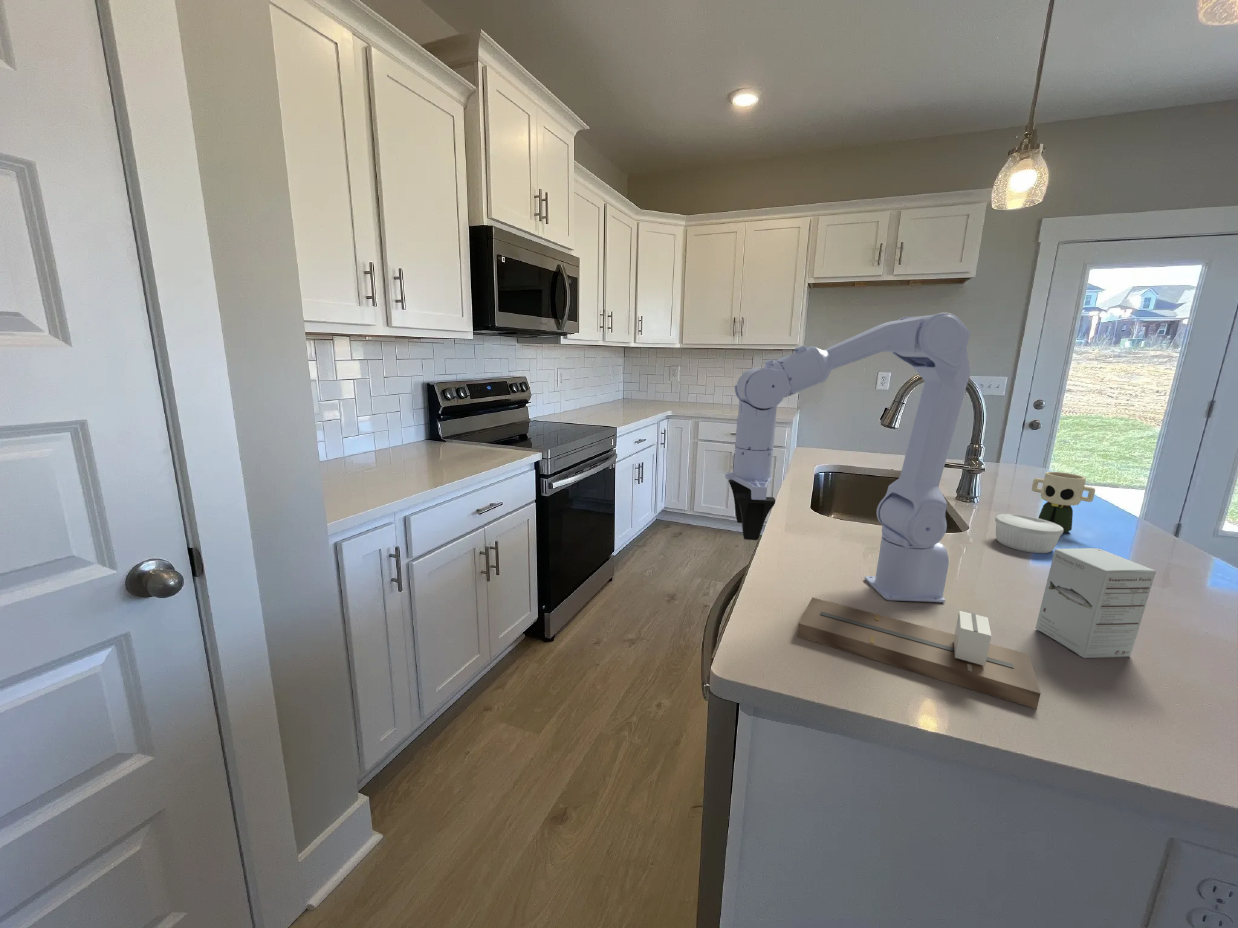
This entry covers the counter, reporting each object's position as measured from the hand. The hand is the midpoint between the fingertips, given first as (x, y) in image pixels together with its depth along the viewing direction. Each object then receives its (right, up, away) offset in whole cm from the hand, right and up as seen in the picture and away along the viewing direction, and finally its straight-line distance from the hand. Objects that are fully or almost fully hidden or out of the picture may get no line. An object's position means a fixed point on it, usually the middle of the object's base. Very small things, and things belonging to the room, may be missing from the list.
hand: (746, 530), depth 81 cm
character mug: (+80, -5, +36) cm, 88 cm away
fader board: (+17, -14, -14) cm, 27 cm away
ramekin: (+65, -7, +26) cm, 70 cm away
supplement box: (+43, -14, -11) cm, 47 cm away
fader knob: (+23, -13, -18) cm, 32 cm away
